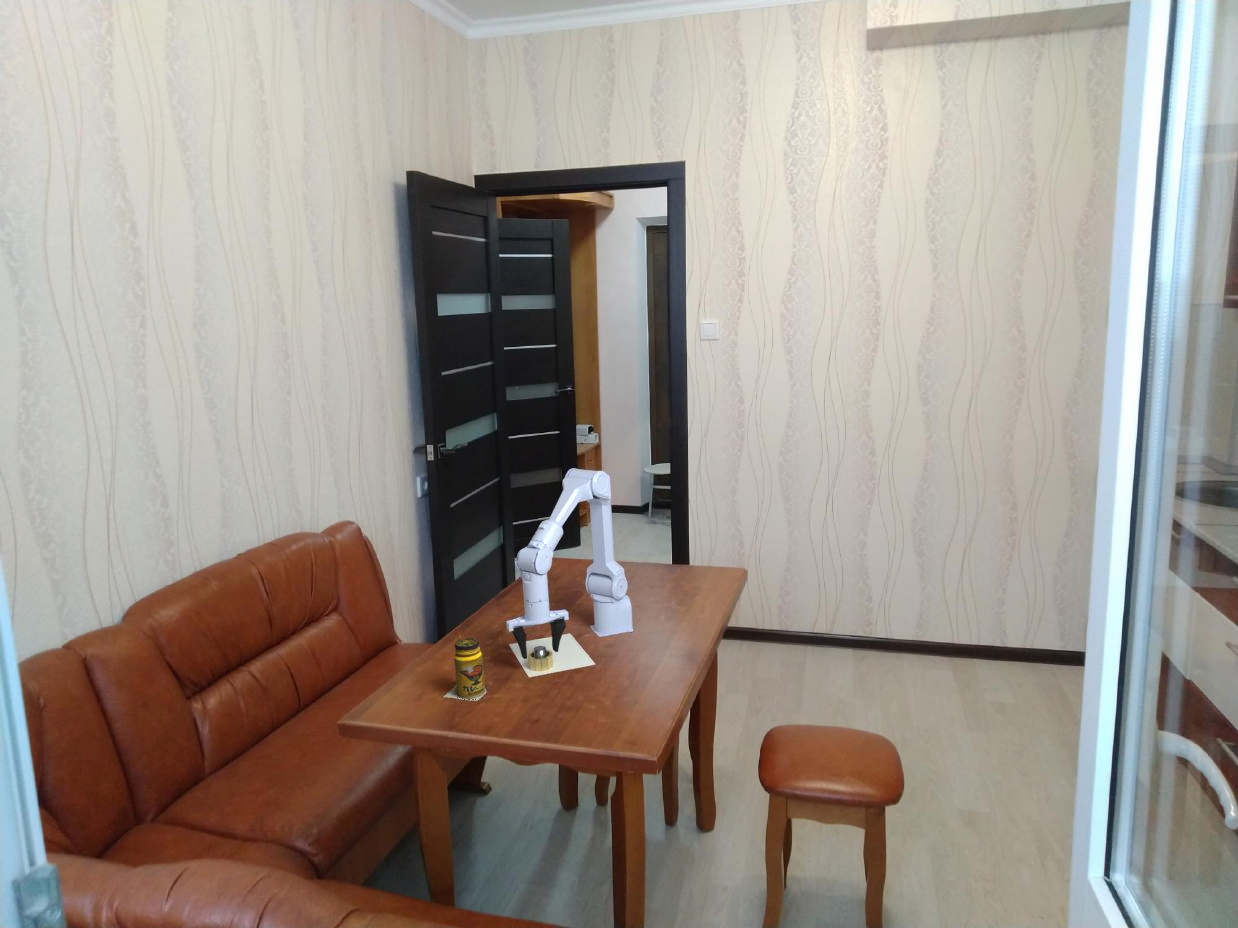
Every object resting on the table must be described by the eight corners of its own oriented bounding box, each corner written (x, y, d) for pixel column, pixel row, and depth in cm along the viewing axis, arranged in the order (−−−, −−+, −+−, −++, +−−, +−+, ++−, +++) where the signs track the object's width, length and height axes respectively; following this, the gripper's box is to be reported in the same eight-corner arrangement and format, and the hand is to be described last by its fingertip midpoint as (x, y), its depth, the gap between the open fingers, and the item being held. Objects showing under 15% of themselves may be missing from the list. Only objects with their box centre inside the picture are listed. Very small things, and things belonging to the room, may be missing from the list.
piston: (545, 662, 200) (543, 644, 200) (548, 667, 198) (547, 649, 197) (533, 665, 200) (532, 647, 199) (536, 669, 197) (535, 651, 196)
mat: (570, 635, 218) (570, 633, 218) (595, 666, 199) (595, 664, 198) (508, 646, 213) (508, 644, 213) (529, 679, 193) (528, 676, 193)
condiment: (477, 701, 184) (473, 649, 181) (442, 697, 186) (438, 646, 184) (492, 686, 190) (488, 636, 188) (458, 683, 193) (454, 633, 191)
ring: (548, 659, 202) (547, 647, 202) (556, 667, 197) (555, 655, 197) (525, 664, 200) (525, 652, 200) (533, 673, 195) (532, 660, 195)
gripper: (559, 587, 202) (563, 641, 205) (500, 598, 196) (505, 654, 199) (570, 596, 196) (573, 651, 198) (509, 608, 190) (514, 665, 193)
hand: (540, 653), depth 198 cm, fingers open, 7 cm apart
